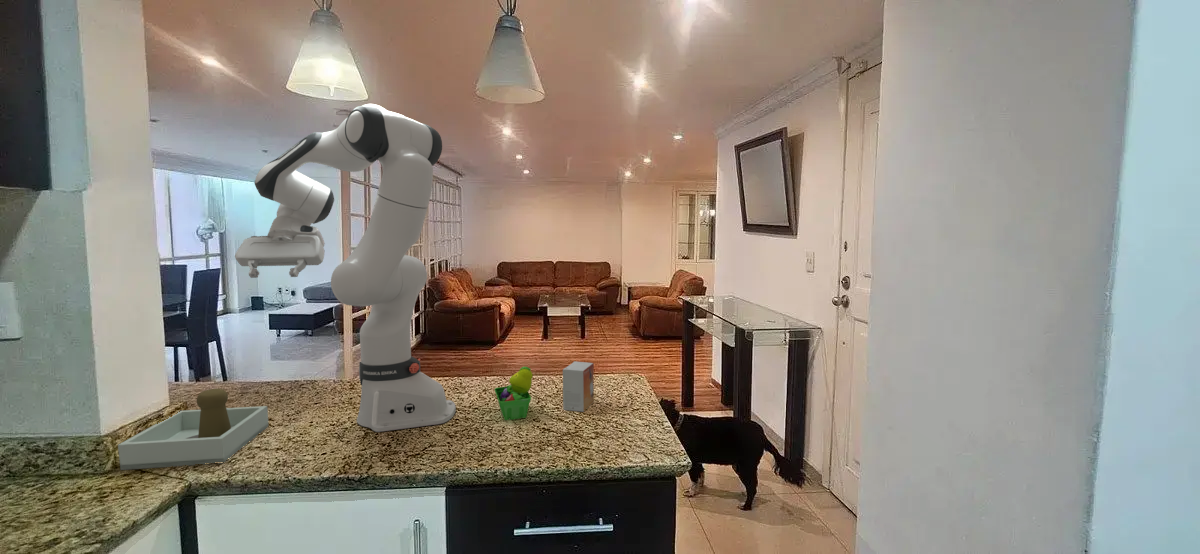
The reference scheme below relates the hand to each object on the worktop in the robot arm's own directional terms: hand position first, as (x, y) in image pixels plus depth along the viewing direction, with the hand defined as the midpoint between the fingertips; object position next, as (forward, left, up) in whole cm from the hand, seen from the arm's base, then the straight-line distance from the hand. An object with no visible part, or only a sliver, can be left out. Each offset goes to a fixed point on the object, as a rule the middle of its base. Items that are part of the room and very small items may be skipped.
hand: (273, 275), depth 130 cm
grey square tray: (+5, +25, -33) cm, 42 cm away
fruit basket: (-60, +16, -34) cm, 71 cm away
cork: (+2, +26, -32) cm, 41 cm away
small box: (-76, +14, -34) cm, 84 cm away
